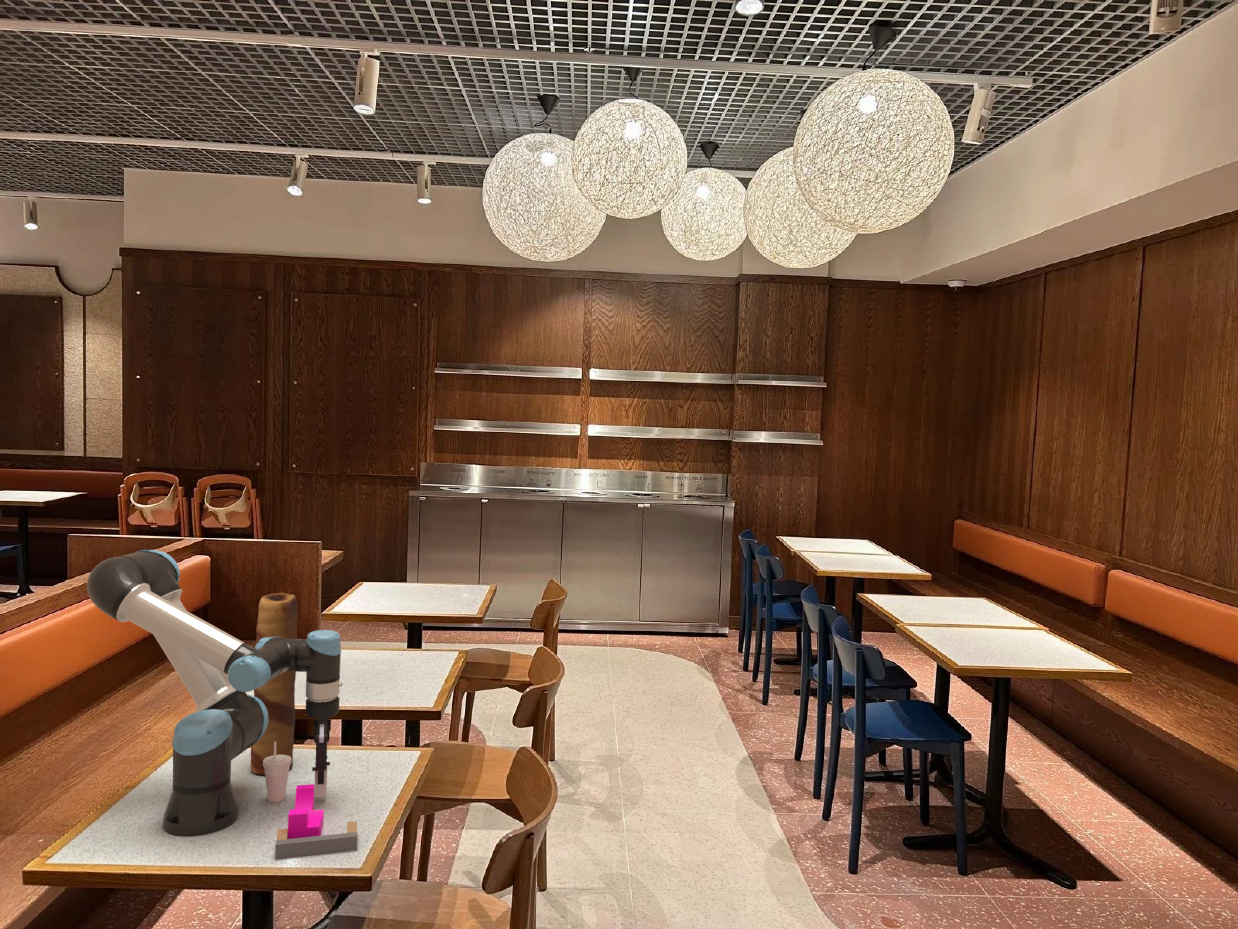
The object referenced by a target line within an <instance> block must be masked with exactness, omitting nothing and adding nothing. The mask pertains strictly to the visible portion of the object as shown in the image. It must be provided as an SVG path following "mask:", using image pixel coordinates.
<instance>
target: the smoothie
mask: <svg viewBox="0 0 1238 929" xmlns="http://www.w3.org/2000/svg"><path fill="white" fill-rule="evenodd" d="M291 763H292V761H291V757H290V756H288V755H276V741H275V742H274V755H273V756H270V757H267V758H265V759H264V760H263V767H264V769H265V775H264V778H265V787H266V794H267V801H269V803H279V802H282V801H284V800H285V798H286V793H287V786H288V780H289V772H290V770H289V767H290V764H291Z"/></svg>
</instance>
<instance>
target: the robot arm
mask: <svg viewBox="0 0 1238 929" xmlns="http://www.w3.org/2000/svg"><path fill="white" fill-rule="evenodd" d="M180 576H181V571H180V568H179V565H178V563H177V562H176V560H175V559H174V558H173V557H172V556H171V555H170V554H168V553H166V552H165V551H162V550H157V549H143V550H138V551H135V552H132V553H128V554H125V555H119V556H114V557H110V558H107V559H105V560H102V561H101V562H99V563H98V564H96V565H95V566H94V568H93V569H92V570H91V571H90V573H89V575H88V578H87V583H86V592H87V594H88V595H87V596H88V597H89V599H90V600H91V603H93V605H95V606H94V607H97V609H98V610H99V611H101V612H102V613H104V614H105V615H107V616H109V617H110V618H112V619H114V620H116V621H118V622H119V623H126V622H131V623H133V624H134V625H135V626H138V627H139V628H141V629H143V630H145V631H147V632H149V633H151V634H152V635H153V636H154V638H155V640H156V641H157V643H158V644H159V646H160V648H161V649H162V651H163V652H164V654H165V656H166V657H167V659H168V660H169V662H170V664H171V665H172V668H174V670H175V673H176V674H177V675H178V676H179V678H180V680H181V682H182V683H183V685H184V686H185V689H187V691H188V693H189V695H190V696H191V698H192V699H193V701H194V702H195V704H196V709H195V712H192V713H190V714H188V715H186V716H184V717H183V718H181V719H180V720H179V721H178V722H177V723H176V725H175V727H174V729H173V736H172V744H171V745H172V791H171V795H170V797H169V800H168V803H167V805H166V808H165V812H164V814H163V820H162V822H163V823H162V828H163V831H164V832H165V833H167V834H168V835H171V836H175V837H183V838H186V837H187V838H188V837H189V838H190V837H200V836H206V835H210V834H214V833H217V832H220V831H223V830H225V829H227V828H228V827H230V826H232V825H234V824H235V823H236V821H237V820H238V818H239V812H240V811H239V803H238V799H237V798H236V795H235V790H233V786H232V784H231V782H232V780H231V779H232V778H231V777H232V776H231V775H232V774H231V773H232V772H231V771H232V769H231V768H232V761H233V760H234V759H236V758H237V757H238V756H239V755H241V754H242V753H243V752H245V751H246V750H249V748H250V749H251V746H253V745H254V744H255V743H256V742H257V741H258V740H259V739H260V738H261V737H262V736H263V734H264V733H265V731H266V729H267V725H268V712H267V709H266V706H265V705H264V703H263V702H262V701H261V700H260V699H259V698H257V697H254V695H251V694H248V693H249V692H252V691H254V689H257V688H260V687H262V686H263V685H265V684H266V683H267V682H268V681H270V680H271V679H273V678H275V677H277V676H278V675H280V674H282V673H283V672H285V671H296V673H297V672H298V673H302V672H305V674H306V675H305V676H306V680H305V698H306V699H305V715H306V716H307V717H309V718H314V720H313V725H312V732H313V743H314V744H315V758H314V760H315V763H314V765H315V767H313V766H312V768H311V771H312V772H314V798H319V797H327V792H328V791H327V790H328V788H327V786H328V766H331V761H327V760H328V743H329V742H330V735H331V734H330V733H331V729H332V719H331V718H332V717H334V716H336V715H337V714H339V712H340V697H339V695H340V687H342V686H343V682H342V681H340V680H341V657H342V656H341V655H342V649H341V648H342V646H341V636H340V633H339V632H338V631H336V630H330V629H324V630H323V629H322V630H321V629H319V630H313V631H311V632H309V633H308V634H307V638H306V639H305V638H297V639H291V638H280V637H265V638H262V639H260V640H259V641H258V644H256V643H255V646H252V645H249V643H248V644H247V643H245V642H244V641H242V640H240V639H239V638H237V637H235V636H233V635H231V634H229V633H228V632H226V631H224V630H222V629H220V628H218V627H217V626H215V625H213V624H211V623H209V622H207V621H206V620H204V619H202V618H200V617H198V616H197V615H195V614H193V613H191V612H189V611H188V610H187V609H186V608H185V606H184V604H183V603H182V601H181V597H182V593H183V589H182V587H181V586H180V584H179V582H180ZM330 717H331V718H330Z"/></svg>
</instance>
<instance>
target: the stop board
mask: <svg viewBox="0 0 1238 929" xmlns="http://www.w3.org/2000/svg"><path fill="white" fill-rule="evenodd" d="M346 827H347V828H346V832H343V833H335V834H334V833H333V834H326V835H321V836H313V837H304V838H294V839H288V827H284V828H278V829H277V835H276V839H275V840H276V841H275V851H274V852H275V854H274V855H275V856H274V857H275V860H282V859H291V858H292V859H293V858H298V857H308V856H316V855H326V854H327V855H328V854H335V853H342V852H351V850H353V851H357V850H358V821H348V822H347V823H346Z"/></svg>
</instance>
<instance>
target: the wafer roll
mask: <svg viewBox="0 0 1238 929" xmlns="http://www.w3.org/2000/svg"><path fill="white" fill-rule="evenodd" d="M255 632H256V639H255V642H256V643H255V645H256V644H258V641H259V640H260V639H262V638H265V637H280V638H291V639H298V633H297V632H298V602H297V597H296V595H294V594H289V593H285V592H279V593H278V592H277V593H276V592H275V593H271V594H267V595H263V596H262V597H261V598H260V600H259V603H258V616H257V624H256V630H255ZM296 675H297V672H296V671H285V672H283V673H282V674H280V675H278V676H277V677H275V678H273V679H271V680H270V681H268V682H267V683H266V684H265V685H263V686H262V687H260V688H257V689H254V690H253V697H257V698H259V699H260V700H261V701H262V702H263V703H264V705H265V706H266V709H267V712H268V725H267V729H266V731H265V733H264V734H263V736H262V737H261V738H260V739H259V740H258V741H257V742H256V743H255V744H254V745H253V746H251V747H250V769H251V772H252V773H253V774H255V775H263V776H265V769H264V767H263V760H264V759H265V758H267V757H270V756H273V755H274V742H275V741H276V755H288V756H290V757H291V761H292V763H291V764H290V767H289V771H290V770H291V769H292V768H293V765H294V741H295V740H294V739H295V738H294V737H295V736H294V735H295V726H296V706H295V704H296V703H295V701H296V700H295V698H296V696H295V692H296V691H295V690H296V687H295V686H296V685H295V684H296V678H297V676H296Z"/></svg>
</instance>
